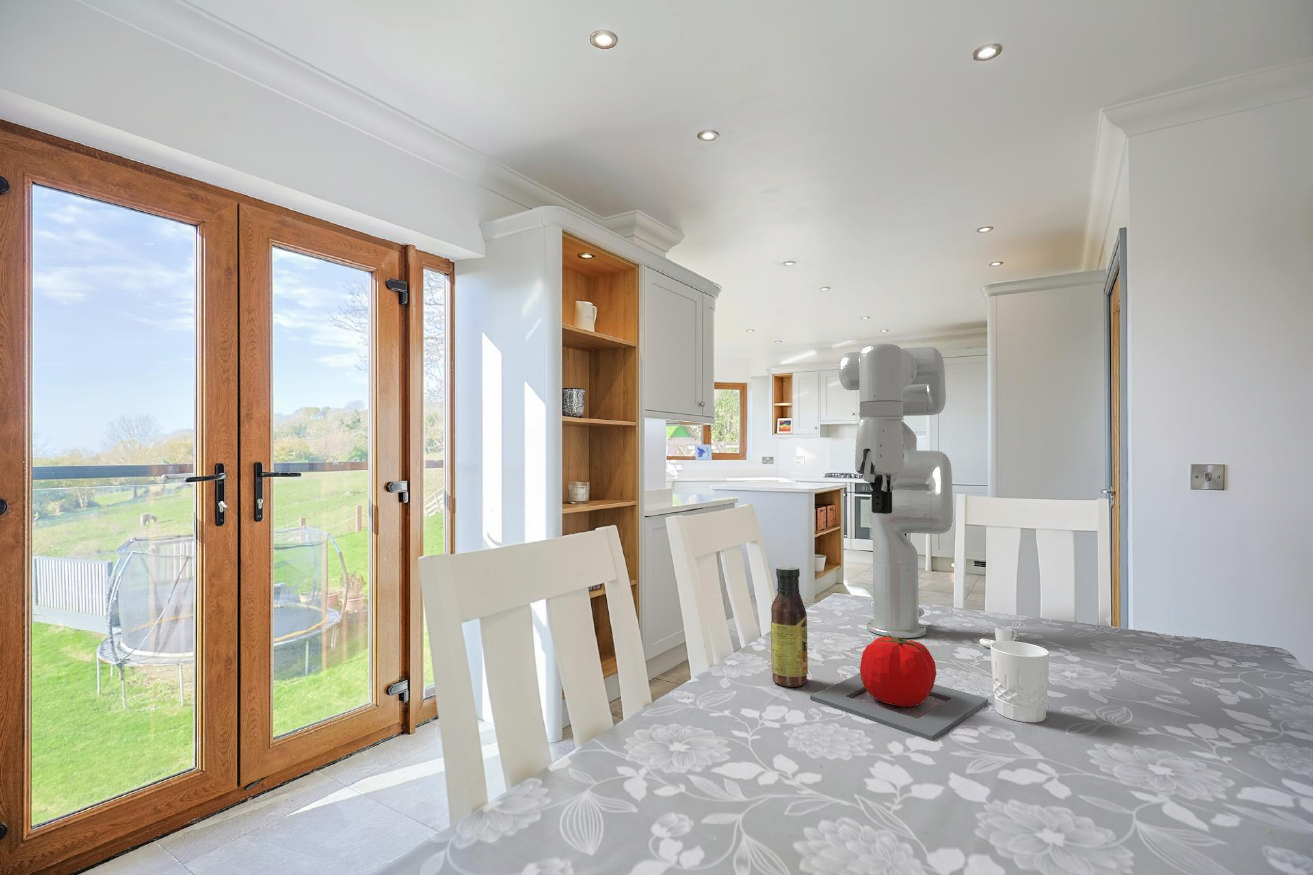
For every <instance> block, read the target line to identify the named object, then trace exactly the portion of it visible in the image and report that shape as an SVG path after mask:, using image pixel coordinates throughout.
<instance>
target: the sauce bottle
mask: <svg viewBox="0 0 1313 875" xmlns="http://www.w3.org/2000/svg"><path fill="white" fill-rule="evenodd" d="M800 574H801V573H800V568H799V567H796V566H792V565H791V566H790V565H789V566H787V565H785V566H784V565H783V566H777V567H776V569H775V575H776V579H777V588H776V592H777V595H776V597H775V598H774V600H773V601H772V604H771V606H770V611H771V613H770V615H771V616H770V617H771V618H770V619H771V620H770V652H771V656H770V658H771V672H772V681H773V682H774V683H775V684H777V685H779V686H783V687H789V688H793V687H795V688H796V687H798V688H799V687H802V686H804V685H806V683H807V682H808V676H807V675H808V674H809V670H808V665H809V664H808V663H809V661H808V659H809V658H808V615H807V614H808V612H807V611H806V607H805V605H804V602H803V598H802V596H801V593H800V581H799V580H800V579H799V578H800Z"/></svg>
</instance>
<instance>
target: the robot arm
mask: <svg viewBox="0 0 1313 875" xmlns="http://www.w3.org/2000/svg"><path fill="white" fill-rule="evenodd" d="M838 379H839V382H840V384H841V385H842V387H843V388H844V389H845V390H847V391H859V398H858V399H859V420H858V423H857V424H858V425H857V430H856V438H855V450H854V451H855V455H854V456H855V457H854V469H855V472H856V473H857V474H859V475H863V478H862V479H863V481H864V482H867V483H868V484H869V489H870V492H871V496H870V498H869V500H868V515H869V517H868V518H869V521H870V522H869V523H870V529H871V534H872V535H871V537H872V538H871V539H872V569H873V570H872V578H873V579H872V582H873V583H872V584H873V585H872V587H873V592H872V594H873V619H870V620H868V621H866V629H867V630H868V631H869V632H871V633H874V634H877V635H879V636H882V637H890V636H892V637H897V638H898V637H902V639H913V638H920V637H923V636H925V635H927V627H926V626H925V625H923V624H921V623H920V620H919V619H920V617H923V616H925V610H924V609H923V608H922V607H919V603H920V602H919V554H918V550H917V548H916V547H915V545H914V544H913V543H912V542H911V541H910V539H909V538H908V537H907V536H906V535H905V534H924V535H925V534H928V535H941V534H945V533H946V534H947V533H948V532H949V531H950V530H951V528H952V525H953V521H954V520H953V519H954V505H953V503H954V502H953V501H954V498H953V495H954V494H953V472H952V464H951V460H950V459H949V456H948V455H947V454H946V453H944V452H943V451H940V450H939V451H938V450H917V449H918V448H917V445H918V444H917V443H918V440H917V435H916V433H915V432H914V430H912V429H911V427H909V425H908V424H906V422H904V421H903V420H904V416H905V417H910V416H911V417H914V416H918V417H919V416H935V415H939V414H941V413H942V411H944V409H945V407H946V406H945V405H946V403H947V402H946V398H947V396H946V394H947V392H946V391H947V390H946V370H945V362H944V358H943V356H942V353H941V351H940V350H938V349H937V348H936V347H933V346H922V347H905V348H903V347H902V348H901V347H900V346H898V345H897V344H892V343H877V344H870V345H866V346H864V347H863V348H861V350H860V351H854V352H853V351H852V352H846V353H844V354H843V355H842V356H841V358H840V361H839V365H838ZM887 634H888V635H890V636H888V635H887Z"/></svg>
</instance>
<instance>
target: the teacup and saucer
mask: <svg viewBox="0 0 1313 875" xmlns="http://www.w3.org/2000/svg"><path fill="white" fill-rule="evenodd" d="M1013 632H1014V634H1013ZM994 634H995V635H994V636H995V639H987V638H980V639H979V644H980V645H981V646H983V647H986V648H988V649H990V644H991V643H993V642H998V641H1015V640H1016V639H1017V636H1018V635H1017V634H1018V633H1017V631H1016V630H1015V629H1012V627H1008V626H1003V625H1002V626H1001V625H999V626H998V625H997V626H994ZM1012 634H1013V635H1012Z"/></svg>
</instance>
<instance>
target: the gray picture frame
mask: <svg viewBox="0 0 1313 875" xmlns="http://www.w3.org/2000/svg"><path fill="white" fill-rule="evenodd" d="M865 691H867V690H866V688H865V687H864V685H863V682H862V680H861V674H860V673H858V674H856V675H853V676H851V677H849V678H846V679H844V680H842V681H840V682H837V683H835V684H833V685H830V686H828V687H826V688H823V689H822V690H819V691H818V692H814V693H813V694H810V695H809V700H811V701H814V702H817V703H819V704H823V705H826V706H829V707H832V708H835V709H838V710H841V711H843V712H847V713H849V714H853V715H855V716H859V717H861V718H864V719H868V720H870V721H873V722H876V723H879V724H882V725H885V726H888V727H891V728H894V729H897V730H900V731H903V732H905V733H909V734H911V735H915V736H918V737H920V738H924V739H926V740H930V741H934V740H935V739H936V738H938V737H939V736H941V735H942V734H944V733H946V732H947V731H948V730H950V729H951V728H953V727H954V726H955V725H957V724H958V723H961V722H962V721H963V720H964V719H966V718H967V717H969V716H970V715H972V714H974V713H975V712H976V711H978V710H979V709H981V708H982V707H983V706H985V705H987V704H988V703H989V698H987V697H982V696H981V695H980V696H979V695H975V694H972V693H968V692H965V691H961V690H958V689H953V688H950V687H946V686H942V685H938V684H935V683H934V686H933V689H932V690H931V692H930V694H929V695H928V696H930V697H933V698H938V699H941V700H944V701H945V702H944V703H941V704H940V705H939V706H937V707H936V708H933V709H932V710H930V711H928V712H927V713H925V714H923V715H922V716H920V717H919V718H916V717H915V718H914V717H912V716H909V715H905V714H903V713H899V712H896V711H894V710H893V711H892V710H889V709H886V708H884V707H880V706H878V705H875V704H872V703H868V702H865V701H861V700H858V699H855V698H853V697H855V696H856V695H858V694H861V693H863V692H865Z"/></svg>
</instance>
